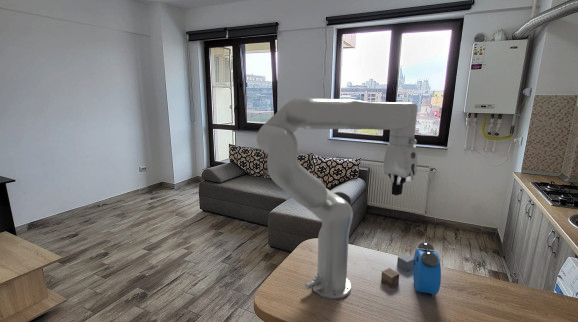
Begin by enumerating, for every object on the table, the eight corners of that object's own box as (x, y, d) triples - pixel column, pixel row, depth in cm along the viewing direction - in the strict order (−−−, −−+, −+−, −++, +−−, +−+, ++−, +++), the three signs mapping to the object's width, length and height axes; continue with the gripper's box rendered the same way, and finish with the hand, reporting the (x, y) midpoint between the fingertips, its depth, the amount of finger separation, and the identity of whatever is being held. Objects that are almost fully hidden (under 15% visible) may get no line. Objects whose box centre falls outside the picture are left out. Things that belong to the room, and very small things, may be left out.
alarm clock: (438, 304, 89) (444, 260, 85) (416, 300, 90) (421, 257, 87) (430, 278, 101) (435, 239, 98) (410, 275, 103) (415, 236, 99)
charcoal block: (406, 271, 105) (407, 262, 104) (396, 266, 108) (397, 256, 107) (413, 268, 107) (414, 258, 106) (404, 263, 110) (405, 253, 109)
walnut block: (390, 288, 96) (391, 277, 95) (381, 281, 100) (381, 271, 99) (398, 284, 98) (399, 273, 97) (388, 277, 102) (389, 267, 101)
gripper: (429, 143, 90) (423, 198, 95) (390, 136, 103) (386, 186, 107) (414, 145, 87) (408, 203, 91) (375, 138, 99) (372, 190, 103)
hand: (396, 194), depth 99 cm, fingers closed
